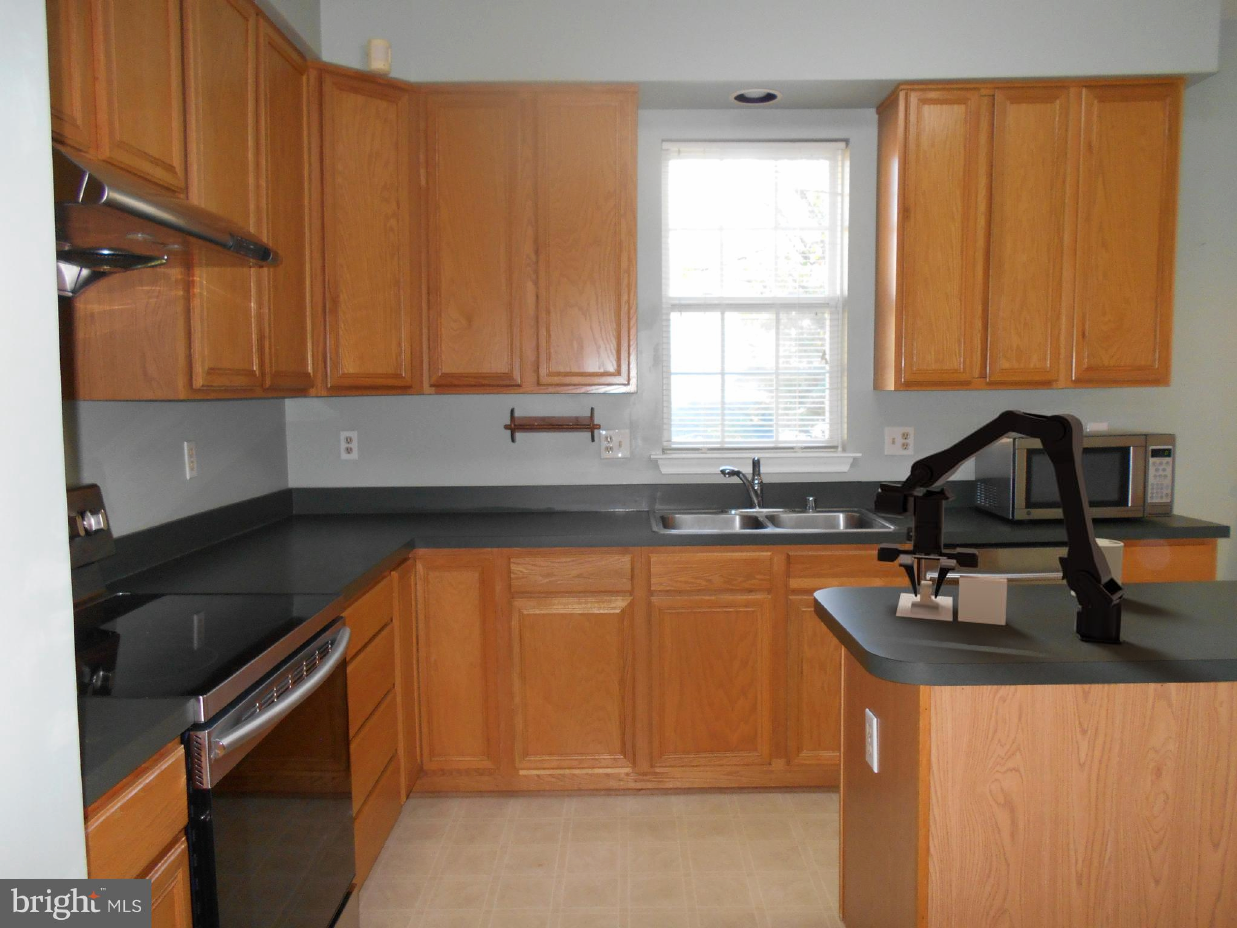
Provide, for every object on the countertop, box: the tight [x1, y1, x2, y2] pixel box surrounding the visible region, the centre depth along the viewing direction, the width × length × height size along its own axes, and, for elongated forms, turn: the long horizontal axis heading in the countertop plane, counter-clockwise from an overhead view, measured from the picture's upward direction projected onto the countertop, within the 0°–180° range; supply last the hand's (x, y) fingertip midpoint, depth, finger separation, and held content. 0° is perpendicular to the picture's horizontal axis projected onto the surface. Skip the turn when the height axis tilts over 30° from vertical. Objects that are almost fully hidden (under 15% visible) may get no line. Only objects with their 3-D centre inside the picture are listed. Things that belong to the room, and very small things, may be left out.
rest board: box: [895, 592, 953, 622], centre depth 169 cm, size 10×18×1 cm, turn 159°
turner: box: [910, 580, 939, 616], centre depth 169 cm, size 13×5×4 cm, turn 159°
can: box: [1070, 537, 1125, 597], centre depth 178 cm, size 9×9×12 cm
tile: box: [957, 574, 1008, 626], centre depth 158 cm, size 8×2×9 cm, turn 69°
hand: (925, 597), depth 171 cm, fingers open, 3 cm apart
